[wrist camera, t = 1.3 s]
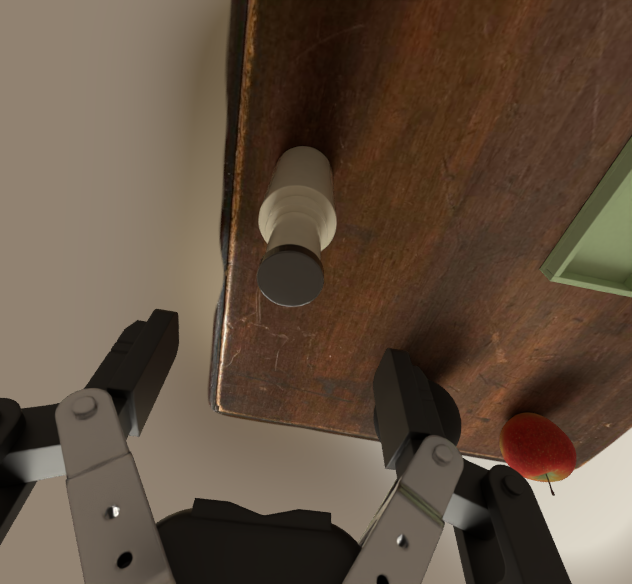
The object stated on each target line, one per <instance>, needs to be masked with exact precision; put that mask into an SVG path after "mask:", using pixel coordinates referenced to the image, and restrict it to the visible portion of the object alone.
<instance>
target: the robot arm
mask: <svg viewBox="0 0 632 584" xmlns="http://www.w3.org/2000/svg"><path fill="white" fill-rule="evenodd" d="M178 346H179V324H178V313H177V312H173V311H167V310H161V309H155V310H154V311H153V313H152V314H151V316H150V318H149V319H148V321H147V322H145V321H139V320H137V321H136V322H134V323H133V324H131V325H130V326H128V327H127V328H126V329H124V331H123V333H122V334H121V335H120V337H119V338H118V340H117V342H116V343H115V344H114V346H113V347H112V349H111V351H110V352H109V353H108V354H107V356H106V357H105V359H104V361H103V362H102V363H101V365H100V366H99V368H98V369H97V371H96V372H95V374H94V375H93V377H92V378H91V379H90V381H89V382H88V384H87V385H86V387H85V388H84V389H82V390H79V391H76V392H75V393H72V394H70V395H69V396H67V397H66V398H65V399H64V400H63V401H62V402H61V403H57V404H53V405H46V406H38V407H31V408H23V409H21V408H20V406H19V404H18V403H17V402H16V401H14V400H12V399H8V398H0V545H1V543H2V541H3V539H4V538H5V536H6V534H7V533H8V531H9V529H10V527H11V525H12V524H13V522H14V520H15V519H16V517H17V515H18V514H19V512H20V510H21V508H22V507H23V505H24V503H25V501H26V500H27V498H28V496H29V494H30V493H31V491H32V489H33V488H34V486H35V484H36V482H37V480H41V479H47V478H52V477H57V476H62V475H67V479H66V488H67V493H68V498H69V504H70V509H71V514H72V519H73V525H74V530H75V535H76V540H77V545H78V551H79V556H80V561H81V566H82V571H83V577H84V582H85V584H421V583H422V580H423V578H424V575H425V573H426V571H427V568H428V565H429V563H430V561H431V558H432V556H433V553H434V551H435V548H436V546H437V543H438V541H439V539H440V536H441V534H442V531H443V528H444V524H445V522H447V523H450V524H452V525H453V527H454V532H455V536H456V541H457V545H458V550H459V554H460V558H461V563H462V568H463V572H464V577H465V581H466V584H572V583H571V581H570V579H569V576H568V574H567V572H566V569H565V567H564V565H563V562H562V560H561V557H560V555H559V553H558V550H557V548H556V545H555V543H554V541H553V538H552V536H551V534H550V531H549V529H548V526H547V524H546V521H545V519H544V517H543V514H542V512H541V510H540V507H539V505H538V502H537V500H536V498H535V495H534V493H533V491H532V489H531V486H530V485H529V483H528V482H527V481H526V479H525V478H524V477H523V476H522V475H521V474H520V473H519V472H517V471H516V470H514V469H513V468H511V467H509V466H505V465H495V466H493V467H492V468H491V469H490V470H487V469H485V468H483V467H480V466H478V465H476V464H474V463H471V462H469V461H467V460H465V459H464V458H462V455H461V453H460V452H459V450H458V449H457V447H456V446H455V445H454V444H453V443H452V442H450V441H449V440H447V439H446V437H445V434H444V431H443V428H442V425H441V421H440V418H439V415H438V412H437V409H436V406H435V402H434V401H433V396H432V393H431V391H430V386H429V383H428V380H427V377H426V376H425V374H424V373H423V372H422V370H421V369H420V368H419V366H414V365H412V363H411V360H410V356H409V353H408V352H407V351H404V350H398V349H392V348H387V349H386V351H385V353H384V355H383V357H382V360H381V362H380V364H379V366H378V368H377V370H376V373H375V376H374V381H373V390H374V397H375V404H376V410H377V417H378V423H379V430H380V437H381V443H382V450H383V457H384V463H385V468H386V469H393V470H396V474H397V479H396V481H395V482H394V484H393V485H392V487H391V489H390V491H389V492H388V494H387V495H386V497H385V499H384V501H383V502H382V504H381V506H380V507H379V509H378V511H377V512H376V514H375V516H374V517H373V519H372V521H371V522H370V524H369V526H368V527H367V529H366V531H365V532H364V533H363V535H362V537H361V538H360V540H359V541H358V543H357V542H356V541H355V540H354V539H353V538H352V537H351V536H350V535H349V534H348V533H347V532H345V531H344V530H343V529H341V528H339V527H338V526H336V525H334V524H332V523H331V513H328V512H320V511H311V510H301V509H297V510H292V511H287V512H281V513H275V514H270V515H261V514H258V513H256V512H253V511H251V510H248V509H246V508H243V507H241V506H239V505H236V504H234V503H231V502H228V501H218V500H209V499H200V498H195V500H194V504H193V508H190V509H186V510H182V511H179V512H176V513H174V514H172V515H169V516H167V517H165V518H164V519H162V520H160V521H159V522H157V523H156V524H155V521H154V518H153V515H152V512H151V509H150V506H149V503H148V500H147V497H146V494H145V491H144V488H143V485H142V482H141V479H140V476H139V473H138V470H137V467H136V464H135V461H134V458H133V456H132V453H131V452H130V451H129V448H128V446H127V442H126V439H127V437H128V435H130V436H138V437H139V436H140V434H141V431H142V429H143V427H144V425H145V423H146V421H147V419H148V416H149V414H150V412H151V410H152V408H153V405H154V403H155V401H156V399H157V397H158V395H159V392H160V390H161V388H162V386H163V384H164V381H165V379H166V377H167V375H168V373H169V370H170V368H171V366H172V364H173V362H174V359H175V357H176V354H177V351H178ZM444 521H445V522H444Z"/></svg>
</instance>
